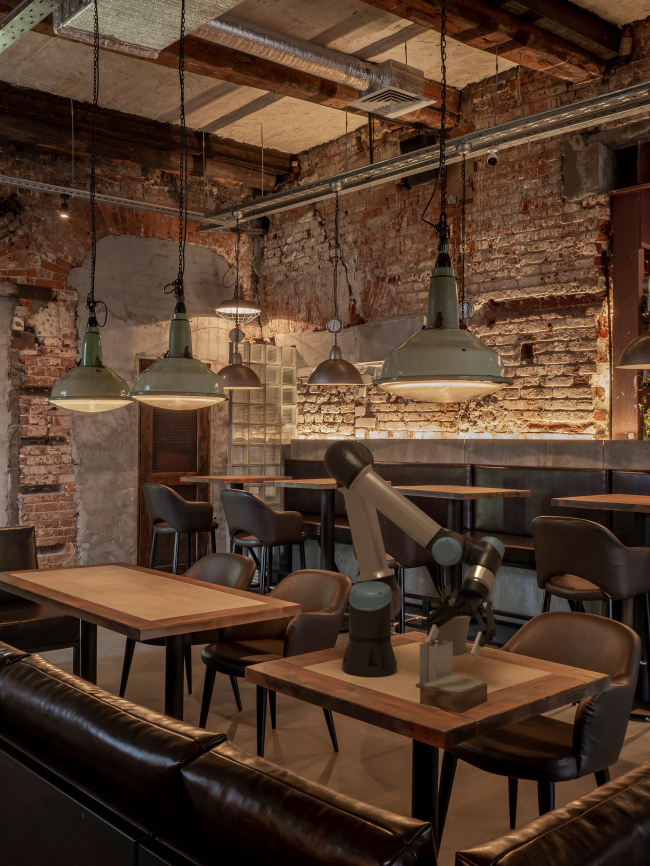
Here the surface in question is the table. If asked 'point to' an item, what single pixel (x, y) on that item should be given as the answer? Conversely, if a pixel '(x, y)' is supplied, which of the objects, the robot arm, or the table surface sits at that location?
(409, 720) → the table surface
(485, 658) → the table surface
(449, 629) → the potted plant
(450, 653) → the housing
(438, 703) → the stand
